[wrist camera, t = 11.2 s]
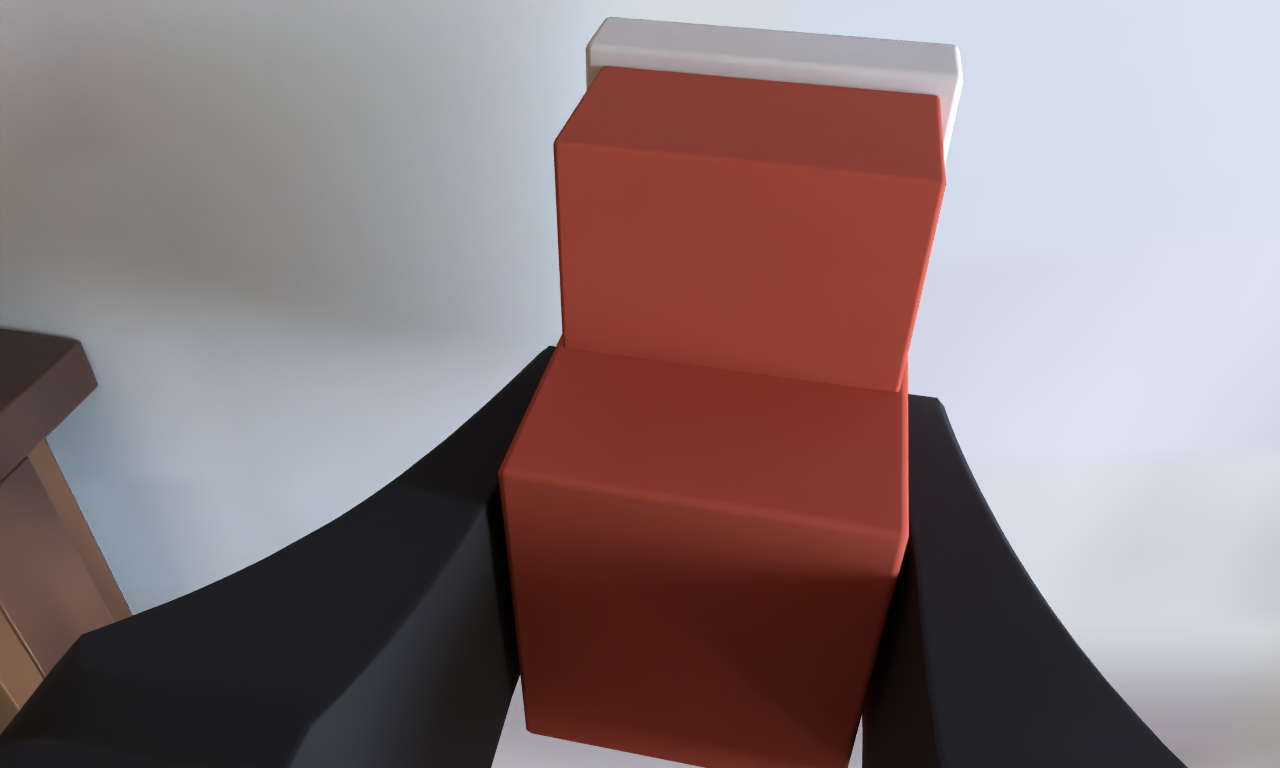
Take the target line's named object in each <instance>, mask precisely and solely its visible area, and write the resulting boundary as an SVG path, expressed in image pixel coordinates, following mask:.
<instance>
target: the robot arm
mask: <svg viewBox="0 0 1280 768" xmlns="http://www.w3.org/2000/svg"><path fill="white" fill-rule="evenodd" d="M555 348H556V347H554V346H549V347H547V348H546V349H545V350H543V351H542V352H541V353H540V354H539V355H538V356H537V357H535V358H534V359H533V360H532V361H531V362H530V363H529V364H528V365H527V366H526V367H525V368H524V369H523V370H522V371H521V372H520V373H519V374H518V375H517V376H516V377H515V378H514V379H512V380H511V381H510V382H509V383H508V384H507V385H506V386H505V387H504V388H503V389H502V390H501V391H500V392H499V393H498V394H496V395H495V396H494V397H493V398H492V399H491V400H490V401H489V402H488V403H487V404H486V405H485V406H483V407H482V408H481V409H480V410H479V411H478V412H477V413H475V414H474V415H473V416H472V417H471V418H470V419H469V420H467V421H466V422H465V423H464V424H463V425H462V426H461V427H459V428H458V429H457V430H456V431H455V432H454V433H453V434H451V435H450V436H449V437H448V438H447V439H446V440H444V441H443V442H442V443H441V444H439V445H438V446H437V447H436V448H434V449H433V450H432V451H431V452H429V453H428V454H427V455H425V456H424V457H423V458H422V459H420V460H419V461H418V462H417V463H415V464H414V465H413V466H411V467H410V468H409V469H408V470H406V471H405V472H404V473H403V474H401V475H400V476H399V477H397V478H396V479H394V480H393V481H392V482H390V483H389V484H387V485H386V486H385V487H383V488H382V489H381V490H379V491H378V492H376V493H375V494H373V495H372V496H370V497H369V498H368V499H366V500H365V501H363V502H361V503H360V504H358V505H357V506H355V507H354V508H352V509H351V510H349V511H348V512H346V513H345V514H343V515H342V516H340V517H338V518H337V519H335V520H333V521H332V522H330V523H328V524H326V525H325V526H323V527H321V528H319V529H317V530H316V531H314V532H312V533H310V534H308V535H307V536H305V537H303V538H301V539H299V540H298V541H296V542H294V543H292V544H290V545H289V546H287V547H285V548H283V549H281V550H279V551H278V552H276V553H274V554H272V555H270V556H269V557H267V558H265V559H263V560H261V561H259V562H257V563H255V564H252V565H250V566H248V567H246V568H244V569H242V570H240V571H238V572H236V573H234V574H232V575H230V576H228V577H225V578H223V579H221V580H219V581H216V582H214V583H212V584H210V585H207V586H205V587H203V588H201V589H198V590H196V591H194V592H192V593H189V594H187V595H184V596H182V597H180V598H177V599H175V600H172V601H170V602H168V603H165V604H162V605H160V606H157V607H154V608H152V609H149V610H146V611H144V612H141V613H138V614H136V615H133V616H131V617H128V618H125V619H123V620H120V621H117V622H115V623H112V624H109V625H107V626H104V627H101V628H99V629H96V630H93V631H90V632H87V633H84V634H82V635H81V636H80V637H79V638H78V639H77V640H76V641H75V643H74V644H73V645H72V646H71V647H70V648H69V649H68V651H67V652H66V653H65V654H64V655H63V656H62V658H61V659H60V660H59V661H58V662H57V663H56V664H55V666H54V667H53V668H52V669H51V671H50V672H49V673H48V675H47V676H46V677H45V678H44V680H43V681H42V682H41V683H40V685H39V686H38V687H37V689H36V690H35V691H34V692H33V694H32V695H31V696H30V698H29V699H28V700H27V701H26V703H25V704H24V705H23V706H22V708H21V709H20V710H19V712H18V713H17V714H16V715H15V717H14V718H13V719H12V720H11V722H10V723H9V724H8V726H7V727H6V728H5V729H4V731H3V732H2V733H1V735H0V768H491V766H492V762H493V759H494V756H495V752H496V749H497V745H498V742H499V739H500V735H501V732H502V729H503V725H504V722H505V719H506V715H507V712H508V708H509V705H510V702H511V698H512V695H513V693H514V690H515V687H516V684H517V682H518V679H519V676H520V666H519V656H518V647H517V638H516V629H515V620H514V611H513V602H512V593H511V584H510V575H509V566H508V556H507V547H506V538H505V529H504V520H503V511H502V502H501V493H500V484H499V475H498V471H499V469H500V467H501V464H502V462H503V460H504V458H505V456H506V454H507V452H508V449H509V447H510V445H511V443H512V441H513V439H514V437H515V434H516V432H517V430H518V428H519V426H520V424H521V421H522V419H523V417H524V415H525V413H526V411H527V409H528V406H529V404H530V402H531V400H532V398H533V396H534V394H535V391H536V389H537V387H538V385H539V383H540V381H541V379H542V376H543V374H544V372H545V370H546V368H547V366H548V363H549V361H550V359H551V357H552V355H553V353H554V351H555ZM908 488H909V537H908V540H907V544H906V548H905V552H904V556H903V559H902V563H901V567H900V571H899V575H898V578H897V582H896V586H895V590H894V594H893V597H892V601H891V605H890V609H889V613H888V616H887V620H886V624H885V628H884V632H883V635H882V639H881V643H880V647H879V651H878V654H877V658H876V662H875V666H874V670H873V673H872V677H871V681H870V685H869V689H868V693H867V696H866V700H865V704H864V708H863V712H862V727H863V748H862V768H1187V767H1186V766H1185V765H1184V764H1183V763H1182V762H1181V761H1180V760H1179V759H1178V758H1177V757H1176V756H1175V755H1174V754H1173V753H1172V752H1171V751H1170V750H1169V749H1168V748H1167V747H1166V746H1165V745H1164V744H1163V743H1162V742H1161V741H1160V739H1159V738H1158V737H1157V736H1156V735H1155V734H1154V733H1153V732H1152V731H1151V729H1150V728H1149V727H1148V726H1147V725H1146V724H1145V723H1144V722H1143V721H1142V720H1141V718H1140V717H1139V716H1138V715H1137V714H1136V713H1135V712H1134V711H1133V710H1132V708H1131V707H1130V706H1129V705H1128V704H1127V703H1126V702H1125V701H1124V700H1123V698H1122V697H1121V696H1120V695H1119V694H1118V693H1117V692H1116V691H1115V690H1114V689H1113V687H1112V686H1111V685H1110V684H1109V683H1108V682H1107V681H1106V679H1105V678H1104V677H1103V676H1102V674H1101V673H1100V672H1099V671H1098V669H1097V668H1096V667H1095V666H1094V664H1093V663H1092V662H1091V661H1090V659H1089V658H1088V657H1087V656H1086V654H1085V653H1084V652H1083V651H1082V649H1081V648H1080V647H1079V646H1078V644H1077V643H1076V642H1075V640H1074V639H1073V638H1072V636H1071V635H1070V634H1069V632H1068V631H1067V629H1066V628H1065V627H1064V625H1063V624H1062V623H1061V621H1060V620H1059V619H1058V617H1057V616H1056V615H1055V613H1054V612H1053V610H1052V609H1051V607H1050V606H1049V605H1048V603H1047V602H1046V600H1045V599H1044V597H1043V596H1042V594H1041V593H1040V591H1039V590H1038V588H1037V587H1036V585H1035V584H1034V582H1033V581H1032V579H1031V578H1030V576H1029V574H1028V573H1027V571H1026V570H1025V568H1024V566H1023V565H1022V563H1021V562H1020V560H1019V558H1018V557H1017V555H1016V554H1015V552H1014V550H1013V549H1012V547H1011V545H1010V544H1009V542H1008V540H1007V538H1006V537H1005V535H1004V533H1003V532H1002V530H1001V528H1000V526H999V524H998V522H997V521H996V519H995V517H994V515H993V513H992V511H991V509H990V508H989V506H988V504H987V502H986V500H985V498H984V496H983V495H982V493H981V491H980V489H979V487H978V485H977V483H976V481H975V479H974V477H973V475H972V472H971V470H970V468H969V466H968V464H967V462H966V460H965V457H964V455H963V453H962V451H961V448H960V446H959V444H958V442H957V439H956V437H955V434H954V432H953V430H952V427H951V424H950V422H949V419H948V416H947V414H946V411H945V408H944V406H943V405H942V403H941V402H940V401H939V400H938V398H934V397H926V396H919V395H911V394H908Z"/></svg>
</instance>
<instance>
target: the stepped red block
mask: <svg viewBox="0 0 1280 768" xmlns="http://www.w3.org/2000/svg"><path fill="white" fill-rule="evenodd" d="M586 81H587V91H586V93H585V95H584V96H583V98H582V99H581V101H580V102H579V104H578V105H577V107H576V108H575V110H574V112H573V113H572V115H571V116H570V118H569V119H568V121H567V122H566V124H565V126H564V127H563V129H562V130H561V132H560V133H559V135H558V136H557V138H556V139H555V141H554V144H553V145H554V166H555V187H556V207H557V228H558V249H559V270H560V291H561V312H562V332H563V333H562V336H561V338H560V340H559V342H558V344H557V346H556V348H555V351H554V353H553V355H552V357H551V359H550V361H549V363H548V366H547V368H546V370H545V372H544V374H543V376H542V379H541V381H540V383H539V385H538V387H537V389H536V391H535V394H534V396H533V398H532V400H531V402H530V404H529V406H528V409H527V411H526V413H525V415H524V417H523V419H522V421H521V424H520V426H519V428H518V430H517V432H516V434H515V437H514V439H513V441H512V443H511V445H510V447H509V449H508V452H507V454H506V456H505V458H504V460H503V462H502V464H501V467H500V469H499V471H498V475H499V484H500V493H501V502H502V511H503V520H504V529H505V538H506V547H507V556H508V566H509V575H510V584H511V593H512V602H513V611H514V620H515V629H516V638H517V647H518V656H519V666H520V675H521V684H522V693H523V702H524V711H525V720H526V729H527V730H528V731H529V732H531V733H533V734H538V735H543V736H548V737H554V738H559V739H564V740H569V741H574V742H579V743H584V744H589V745H594V746H599V747H604V748H609V749H614V750H619V751H624V752H629V753H634V754H639V755H644V756H649V757H655V758H660V759H665V760H670V761H675V762H680V763H685V764H690V765H695V766H700V767H705V768H848V765H849V761H850V757H851V753H852V750H853V746H854V742H855V738H856V734H857V731H858V727H859V723H860V719H861V715H862V712H863V708H864V704H865V700H866V696H867V693H868V689H869V685H870V681H871V677H872V673H873V670H874V666H875V662H876V658H877V654H878V651H879V647H880V643H881V639H882V635H883V632H884V628H885V624H886V620H887V616H888V613H889V609H890V605H891V601H892V597H893V594H894V590H895V586H896V582H897V578H898V575H899V571H900V567H901V563H902V559H903V556H904V552H905V548H906V544H907V540H908V537H909V488H908V351H909V347H910V342H911V338H912V333H913V329H914V325H915V320H916V316H917V311H918V307H919V302H920V298H921V293H922V289H923V284H924V280H925V276H926V271H927V267H928V262H929V258H930V253H931V249H932V244H933V240H934V235H935V231H936V227H937V222H938V218H939V213H940V209H941V204H942V200H943V195H944V191H945V186H946V177H945V161H946V156H947V152H948V147H949V143H950V138H951V134H952V129H953V124H954V120H955V115H956V111H957V106H958V102H959V97H960V93H961V88H962V84H963V77H962V69H961V61H960V53H959V48H958V47H957V46H955V45H952V44H940V43H928V42H915V41H903V40H890V39H878V38H865V37H853V36H841V35H828V34H816V33H803V32H791V31H779V30H766V29H754V28H741V27H729V26H716V25H704V24H692V23H679V22H667V21H654V20H642V19H630V18H617V17H609V18H606V19H605V20H604V22H603V23H602V24H601V26H600V27H599V29H598V30H597V31H596V33H595V34H594V36H593V37H592V38H591V40H590V41H589V43H588V44H587V47H586Z"/></svg>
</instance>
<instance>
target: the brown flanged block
mask: <svg viewBox="0 0 1280 768" xmlns="http://www.w3.org/2000/svg"><path fill="white" fill-rule="evenodd" d="M97 386H98V383H97V381H96V378H95V376H94V374H93V371H92V369H91V367H90V364H89V362H88V360H87V357H86V355H85V353H84V350H83V348H82V346H81V343H80V342H79V341H77V340H70V339H63V338H56V337H49V336H42V335H35V334H28V333H21V332H14V331H7V330H0V735H1V733H2V732H3V731H4V729H5V728H6V727H7V726H8V724H9V723H10V722H11V720H12V719H13V718H14V717H15V715H16V714H17V713H18V712H19V710H20V709H21V708H22V706H23V705H24V704H25V703H26V701H27V700H28V699H29V698H30V696H31V695H32V694H33V692H34V691H35V690H36V689H37V687H38V686H39V685H40V683H41V682H42V681H43V680H44V678H45V677H46V676H47V675H48V673H49V672H50V671H51V669H52V668H53V667H54V666H55V664H56V663H57V662H58V661H59V660H60V659H61V658H62V656H63V655H64V654H65V653H66V652H67V651H68V649H69V648H70V647H71V646H72V645H73V644H74V643H75V641H76V640H77V639H78V638H79V637H80V636H81V635H82V634H84V633H87V632H90V631H93V630H96V629H99V628H101V627H104V626H107V625H109V624H112V623H115V622H117V621H120V620H123V619H125V618H128V617H131V616H133V615H132V613H131V611H130V609H129V607H128V605H127V603H126V601H125V599H124V597H123V595H122V593H121V591H120V589H119V587H118V585H117V583H116V581H115V579H114V577H113V575H112V573H111V571H110V569H109V567H108V565H107V563H106V561H105V559H104V557H103V555H102V553H101V551H100V549H99V547H98V545H97V543H96V541H95V538H94V536H93V534H92V532H91V530H90V528H89V526H88V524H87V522H86V520H85V518H84V516H83V514H82V512H81V510H80V508H79V506H78V504H77V502H76V500H75V498H74V496H73V494H72V492H71V490H70V488H69V486H68V484H67V482H66V480H65V478H64V476H63V474H62V472H61V470H60V468H59V466H58V464H57V462H56V460H55V458H54V456H53V454H52V452H51V450H50V448H49V446H48V444H47V442H46V440H45V437H47V436H48V435H49V434H50V433H51V432H52V431H53V430H54V429H55V428H56V427H57V426H58V425H59V424H60V423H61V422H62V421H63V420H64V419H65V418H66V417H67V416H68V415H69V414H70V413H71V412H72V411H73V410H74V409H75V408H76V407H77V406H78V405H79V404H80V403H81V402H82V401H83V400H84V399H85V398H86V397H87V396H88V395H89V394H90V393H91V392H92V391H93V390H94V389H95V388H96V387H97Z"/></svg>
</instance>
